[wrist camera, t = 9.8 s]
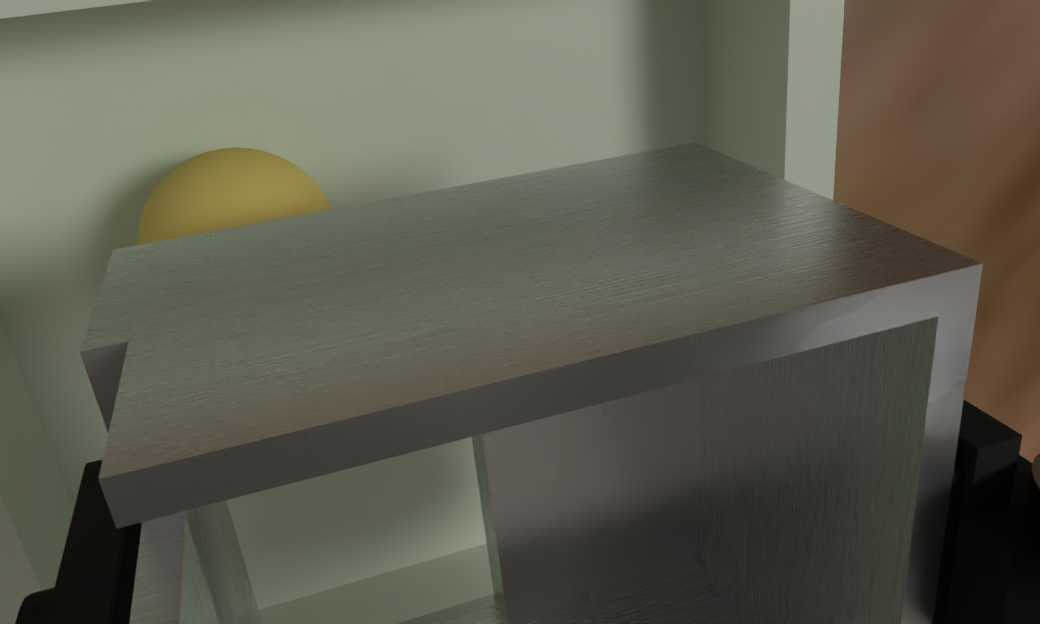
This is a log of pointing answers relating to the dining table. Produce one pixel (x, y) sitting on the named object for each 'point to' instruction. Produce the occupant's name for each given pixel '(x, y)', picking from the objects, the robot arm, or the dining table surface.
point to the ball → (227, 194)
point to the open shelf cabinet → (558, 390)
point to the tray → (345, 182)
